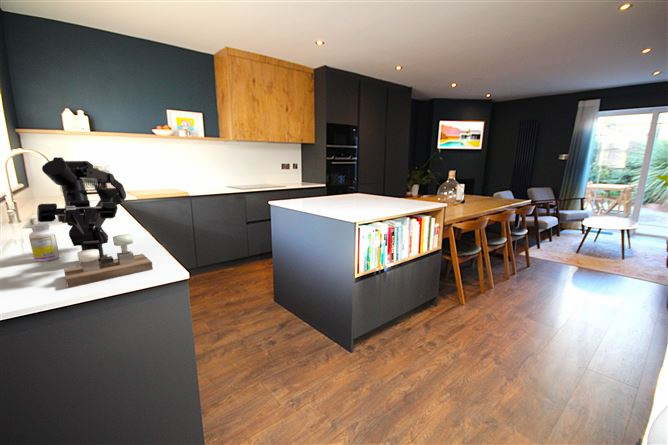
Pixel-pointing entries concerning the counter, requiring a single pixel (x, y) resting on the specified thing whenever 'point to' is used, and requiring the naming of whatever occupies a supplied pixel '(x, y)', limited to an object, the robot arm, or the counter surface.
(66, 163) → the robot arm
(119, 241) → the knob sage
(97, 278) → the knob mount
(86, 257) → the knob cream
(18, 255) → the counter surface
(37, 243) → the supplement bottle
